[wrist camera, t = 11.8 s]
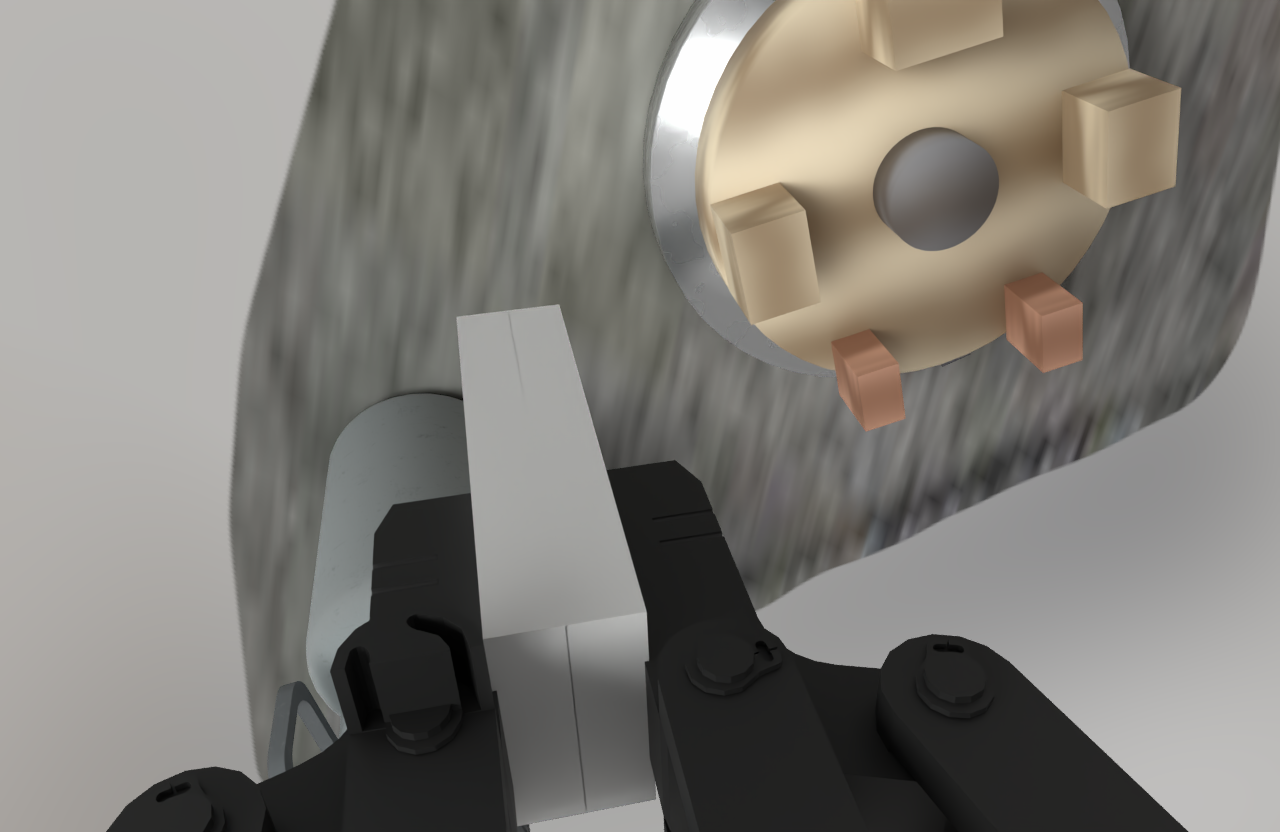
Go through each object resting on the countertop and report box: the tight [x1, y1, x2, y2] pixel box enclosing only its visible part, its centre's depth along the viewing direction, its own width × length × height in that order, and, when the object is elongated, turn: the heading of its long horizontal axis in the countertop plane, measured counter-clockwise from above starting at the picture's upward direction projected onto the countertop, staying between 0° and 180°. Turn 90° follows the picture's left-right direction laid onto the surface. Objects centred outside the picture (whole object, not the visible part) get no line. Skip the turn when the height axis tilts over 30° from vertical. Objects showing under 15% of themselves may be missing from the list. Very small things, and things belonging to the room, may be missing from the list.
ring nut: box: [695, 0, 1181, 431], centre depth 44 cm, size 20×20×6 cm
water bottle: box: [267, 393, 530, 832], centre depth 42 cm, size 10×10×28 cm
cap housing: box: [643, 0, 1130, 377], centre depth 47 cm, size 24×24×4 cm
